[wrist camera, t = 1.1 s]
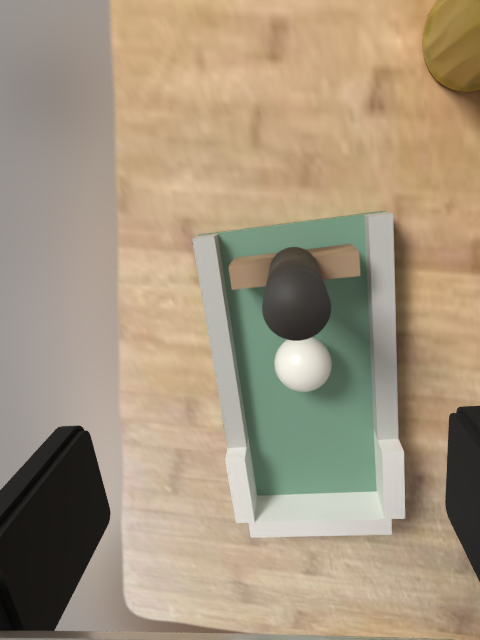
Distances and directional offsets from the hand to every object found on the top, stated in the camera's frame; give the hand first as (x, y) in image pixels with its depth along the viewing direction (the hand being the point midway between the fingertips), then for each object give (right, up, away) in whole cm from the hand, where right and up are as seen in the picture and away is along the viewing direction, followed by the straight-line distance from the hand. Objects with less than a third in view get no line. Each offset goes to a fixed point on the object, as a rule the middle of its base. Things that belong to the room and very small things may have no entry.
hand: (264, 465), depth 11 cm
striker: (+3, +8, +18) cm, 20 cm away
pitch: (+4, -1, +22) cm, 23 cm away
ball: (+4, +1, +19) cm, 19 cm away
